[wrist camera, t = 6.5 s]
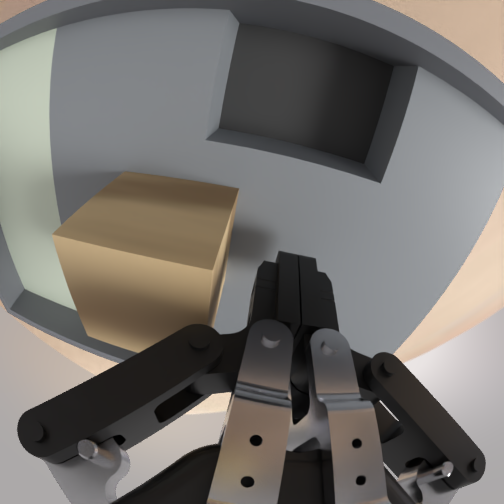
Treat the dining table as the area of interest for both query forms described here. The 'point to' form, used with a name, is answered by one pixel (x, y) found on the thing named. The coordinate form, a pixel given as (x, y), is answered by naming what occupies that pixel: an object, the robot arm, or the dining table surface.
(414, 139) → the box
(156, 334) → the oak block
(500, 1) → the dining table surface
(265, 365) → the robot arm
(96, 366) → the dining table surface
